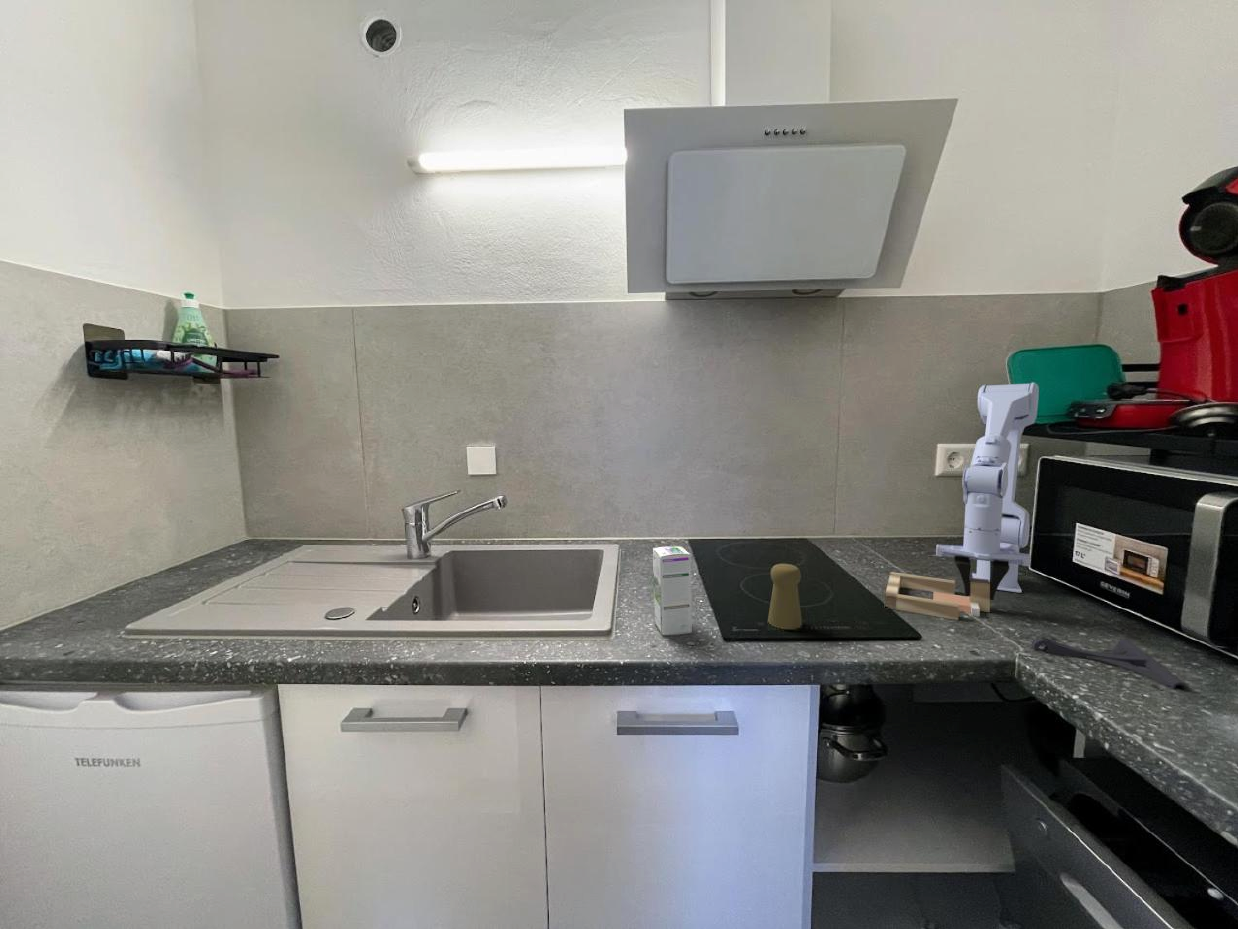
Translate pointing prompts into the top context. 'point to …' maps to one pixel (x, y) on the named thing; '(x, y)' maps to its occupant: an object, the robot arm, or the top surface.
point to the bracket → (1117, 659)
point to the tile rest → (921, 604)
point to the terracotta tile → (954, 600)
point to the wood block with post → (979, 596)
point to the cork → (785, 597)
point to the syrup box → (672, 590)
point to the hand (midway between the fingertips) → (978, 596)
